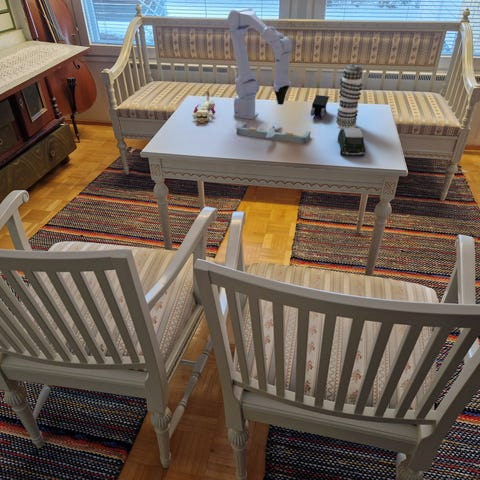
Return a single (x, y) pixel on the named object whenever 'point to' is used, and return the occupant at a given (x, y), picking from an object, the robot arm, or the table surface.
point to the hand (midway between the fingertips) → (280, 104)
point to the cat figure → (204, 111)
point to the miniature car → (351, 141)
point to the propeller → (273, 130)
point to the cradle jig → (278, 136)
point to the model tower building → (349, 96)
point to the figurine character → (319, 106)
